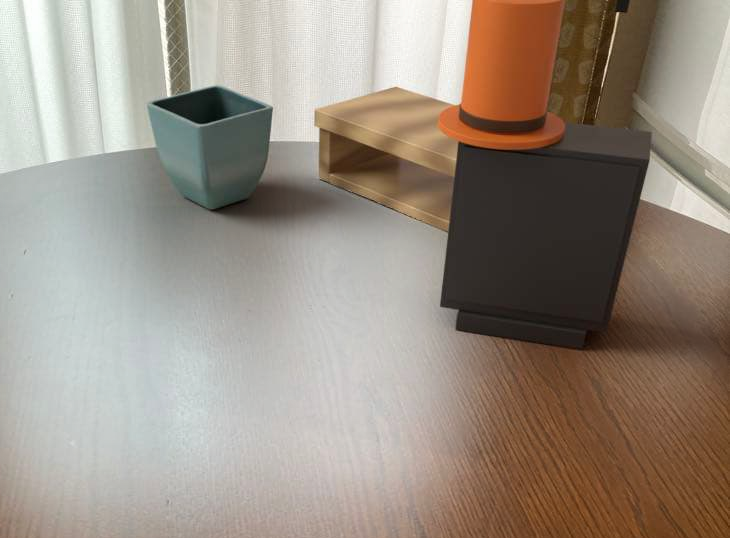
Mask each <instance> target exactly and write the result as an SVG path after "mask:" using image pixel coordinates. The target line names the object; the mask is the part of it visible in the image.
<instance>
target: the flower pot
mask: <svg viewBox="0 0 730 538" xmlns="http://www.w3.org/2000/svg"><path fill="white" fill-rule="evenodd" d="M146 108H147V112H148V116H149V121H150V126H151V130H152V135H153V138H154V142H155V143H154V144H155V147H156V150H157V154H158V156H159V159H160V162H161V165H162V167H163V169H164V171H165V173H166V175H167V177H168V178H169V180H170V181H171V183H172V184H173V185H174V187H175V188H176V190H177V191H178V193H180V195H181V196H183V197H184V198H186V199H188V200H190V201H191V202H194V203H196V204H198V205H199V206H202V207H204V208H205V209H207V210H210V211H211V210H212V211H213V210H216V209H219V208H222V207H226V206H228V205H231V204H234V203H237V202H240V201H243V200H247V199H248V198H250V197H251V196H252V194H253V193H254V191H255V189H256V188H257V186H258V184H259V182H260V181H261V179H262V176H263V174H264V172H265V169H266V167H267V166H266V165H267V163H268V157H269V150H270V140H271V133H272V123H273V111H274V107H273V106H272V105H271V104H268V103H266V102H263V101H261V100H258V99H255V98H252V97H249V96H247V95H244V94H242V93H240V92H237V91H235V90H233V89H230V88H228V87H225V86H223V85H219V84H216V85H215V84H214V85H210V86H206V87H201V88H198V89H194V90H190V91H186V92H182V93H178V94H175V95H170V96H166V97H161V98H158V99H154V100H151V101H148V102H146Z"/></svg>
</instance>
